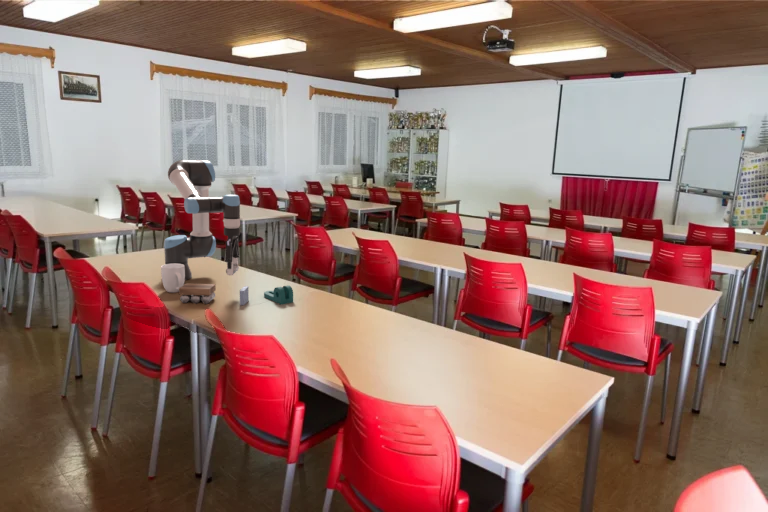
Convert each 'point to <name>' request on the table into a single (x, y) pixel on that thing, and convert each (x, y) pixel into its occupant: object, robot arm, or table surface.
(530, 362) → the table surface
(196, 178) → the robot arm
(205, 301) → the grey ball cluster
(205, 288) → the slab
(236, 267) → the roller
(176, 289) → the mug
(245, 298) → the stop block
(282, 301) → the bracket
